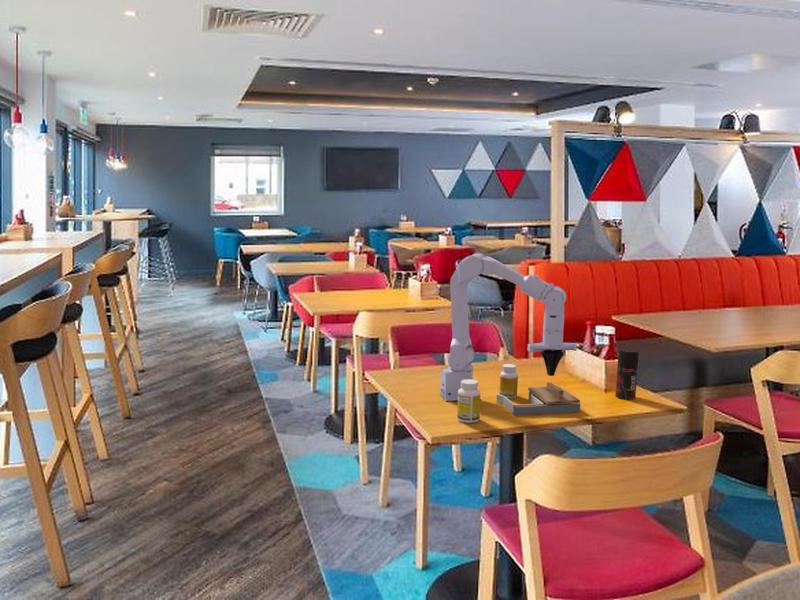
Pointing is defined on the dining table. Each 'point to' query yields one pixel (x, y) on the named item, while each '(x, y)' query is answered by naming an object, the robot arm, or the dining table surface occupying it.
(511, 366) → the supplement bottle
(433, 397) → the dining table surface
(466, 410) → the pill bottle
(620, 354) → the deodorant
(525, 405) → the socket
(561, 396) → the cover
